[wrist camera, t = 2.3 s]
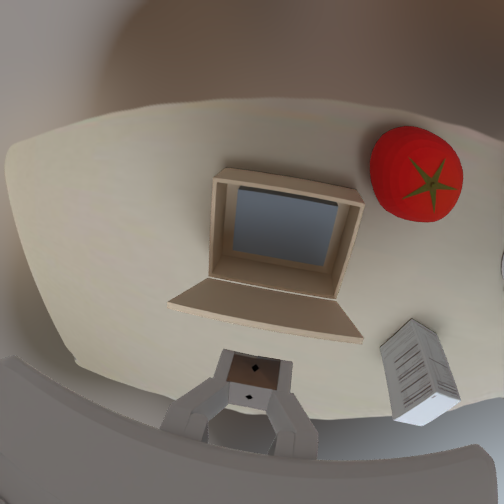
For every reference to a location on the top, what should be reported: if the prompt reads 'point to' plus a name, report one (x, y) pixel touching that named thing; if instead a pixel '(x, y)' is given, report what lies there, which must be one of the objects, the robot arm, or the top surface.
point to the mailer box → (282, 231)
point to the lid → (267, 310)
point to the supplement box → (418, 375)
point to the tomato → (415, 174)
